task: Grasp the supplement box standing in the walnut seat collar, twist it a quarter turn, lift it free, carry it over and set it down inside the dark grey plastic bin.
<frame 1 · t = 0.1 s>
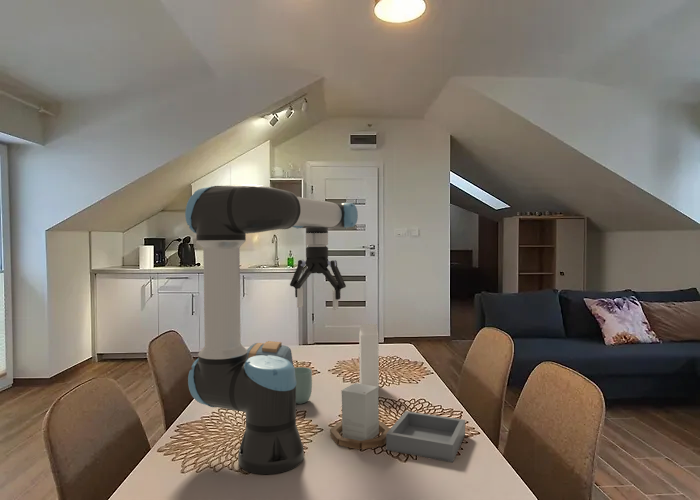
hand: (317, 308, 159), 28 cm above the table, fingers open, 13 cm apart
bin: (427, 442, 118), on the table
seat collar: (360, 435, 122), on the table
cup: (299, 402, 148), on the table
supplement box: (360, 436, 122), resting in seat collar
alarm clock: (268, 388, 162), on the table
milk: (369, 387, 162), on the table
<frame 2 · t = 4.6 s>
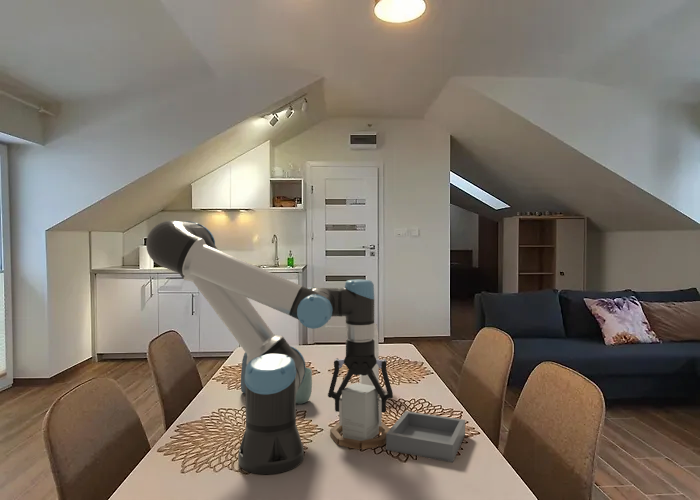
hand: (360, 423, 122), 3 cm above the table, fingers closed on supplement box, 9 cm apart
supplement box: (360, 436, 122), resting in seat collar, touching gripper
everything else where it was.
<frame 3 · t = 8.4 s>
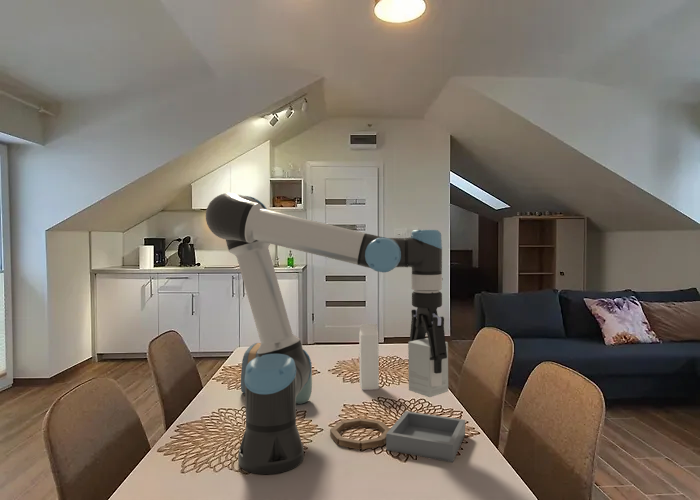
hand: (427, 379, 117), 16 cm above the table, fingers closed on supplement box, 9 cm apart
supplement box: (428, 391, 118), point 13 cm above the table, touching gripper
everything else where it was.
when the fingers open (4 cm above the table, at t = 11.2 s): supplement box stays where it is, resting on bin.
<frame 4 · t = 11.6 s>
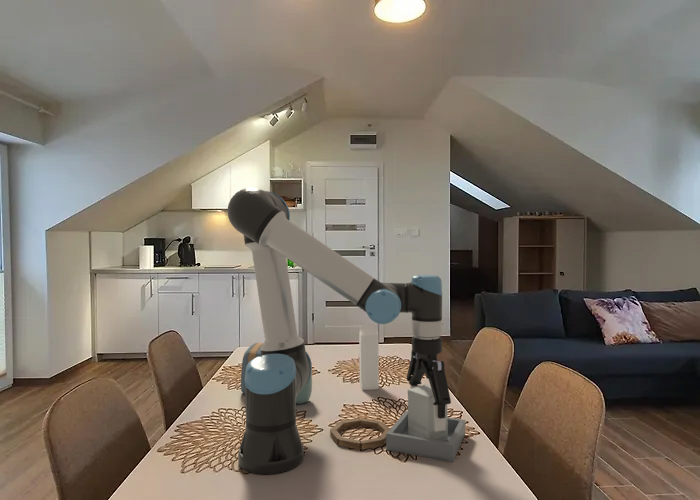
hand: (427, 419, 118), 6 cm above the table, fingers open, 13 cm apart
supplement box: (427, 439, 118), resting on bin
everything else where it was.
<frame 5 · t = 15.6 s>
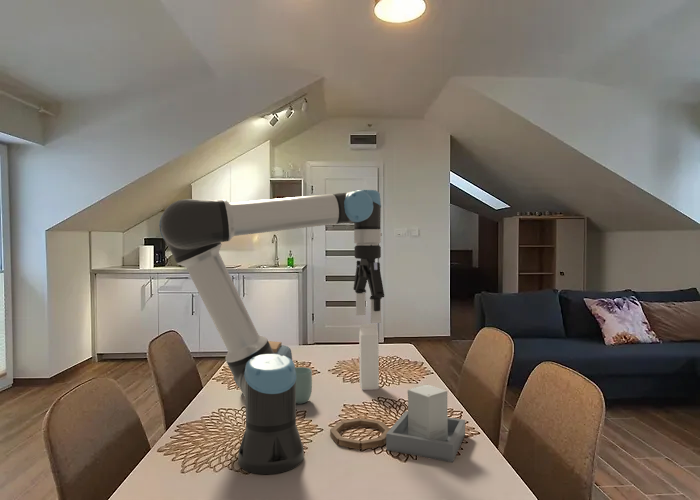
hand: (367, 318, 133), 29 cm above the table, fingers open, 13 cm apart
nothing on the table moved.
at the end: supplement box inside the target area on the bin (0.5 cm from its centre), point 0.4 cm above the bin's base; the gripper is holding nothing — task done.
